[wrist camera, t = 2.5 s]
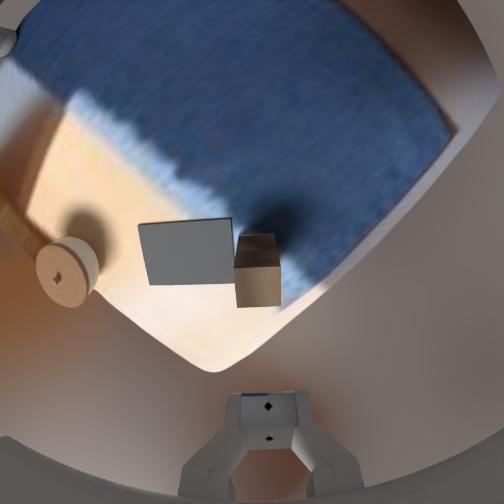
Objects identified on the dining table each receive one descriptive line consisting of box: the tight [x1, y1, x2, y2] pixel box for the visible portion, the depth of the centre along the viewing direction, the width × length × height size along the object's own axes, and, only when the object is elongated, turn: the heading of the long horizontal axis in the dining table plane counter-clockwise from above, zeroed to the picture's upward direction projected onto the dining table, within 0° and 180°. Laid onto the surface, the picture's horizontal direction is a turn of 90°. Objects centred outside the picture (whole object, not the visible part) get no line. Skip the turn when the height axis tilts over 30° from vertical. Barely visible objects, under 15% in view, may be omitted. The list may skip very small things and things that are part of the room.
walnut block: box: [234, 233, 281, 308], centre depth 36 cm, size 5×5×11 cm
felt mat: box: [138, 219, 235, 285], centre depth 41 cm, size 14×10×1 cm
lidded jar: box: [36, 237, 99, 307], centre depth 37 cm, size 11×11×9 cm
